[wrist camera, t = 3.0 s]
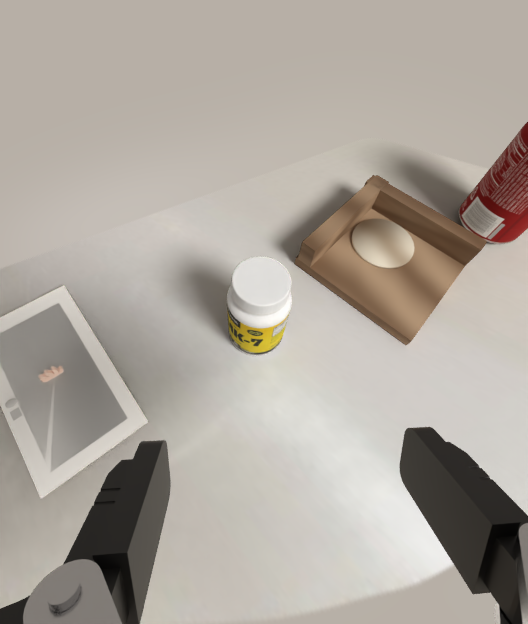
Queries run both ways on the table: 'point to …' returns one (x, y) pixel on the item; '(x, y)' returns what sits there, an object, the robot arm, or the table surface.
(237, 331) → the supplement bottle
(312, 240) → the wooden tray
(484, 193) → the soda can
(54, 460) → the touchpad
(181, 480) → the table surface
